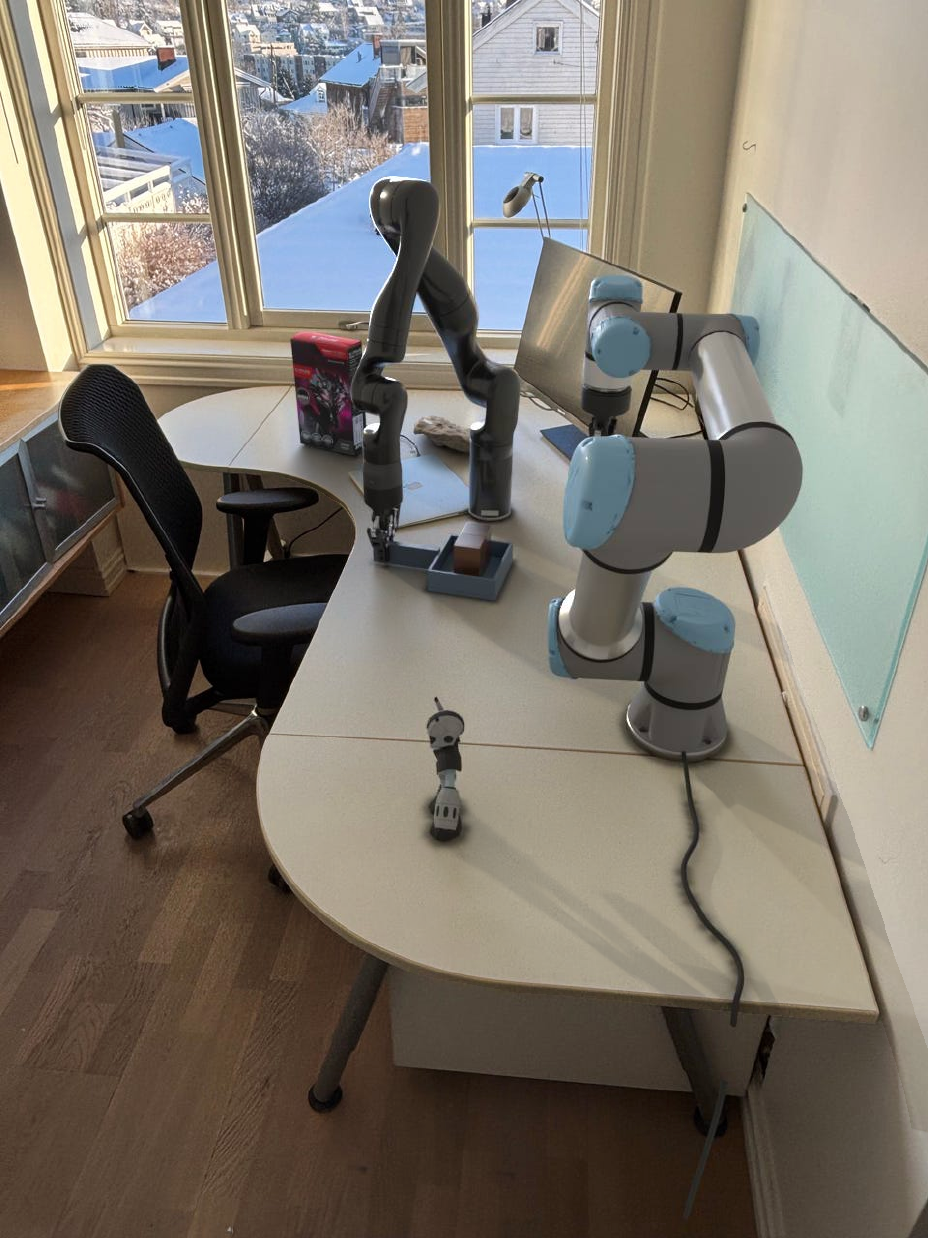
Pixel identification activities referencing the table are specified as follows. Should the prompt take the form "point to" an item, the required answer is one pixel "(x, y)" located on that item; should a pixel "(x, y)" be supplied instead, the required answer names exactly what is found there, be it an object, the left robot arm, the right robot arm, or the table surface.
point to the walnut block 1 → (481, 530)
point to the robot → (446, 772)
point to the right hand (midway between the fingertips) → (594, 510)
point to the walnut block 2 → (470, 555)
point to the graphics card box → (327, 391)
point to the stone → (444, 432)
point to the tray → (443, 567)
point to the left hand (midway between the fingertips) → (386, 558)
